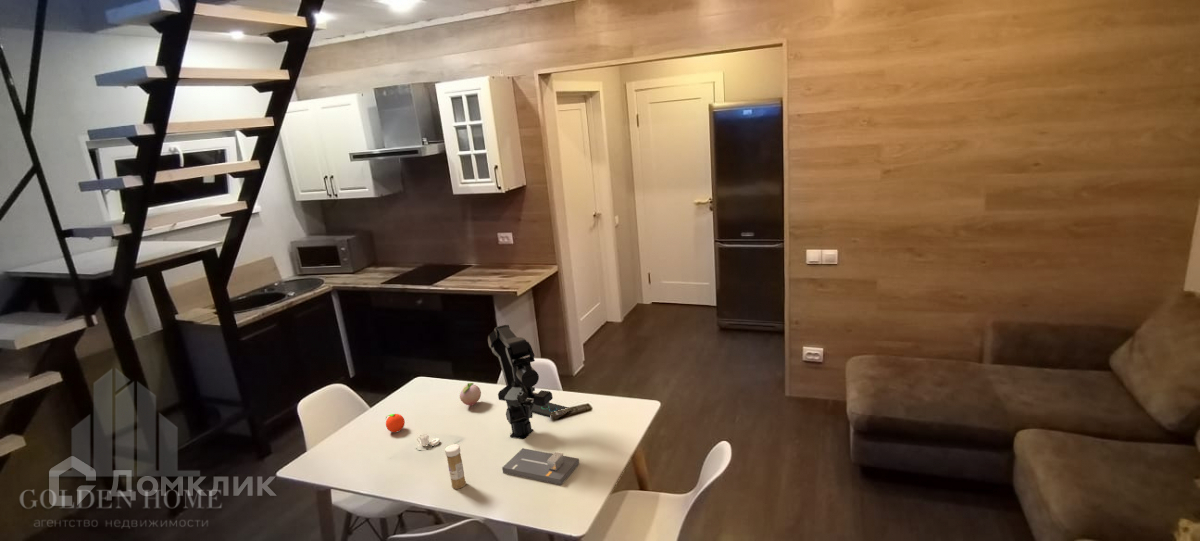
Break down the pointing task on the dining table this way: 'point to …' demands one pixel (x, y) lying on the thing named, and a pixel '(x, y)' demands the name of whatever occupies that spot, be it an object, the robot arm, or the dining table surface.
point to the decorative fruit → (470, 394)
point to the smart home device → (547, 409)
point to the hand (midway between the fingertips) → (528, 418)
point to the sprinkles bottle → (455, 466)
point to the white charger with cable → (427, 440)
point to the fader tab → (555, 461)
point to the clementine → (395, 422)
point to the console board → (539, 466)
